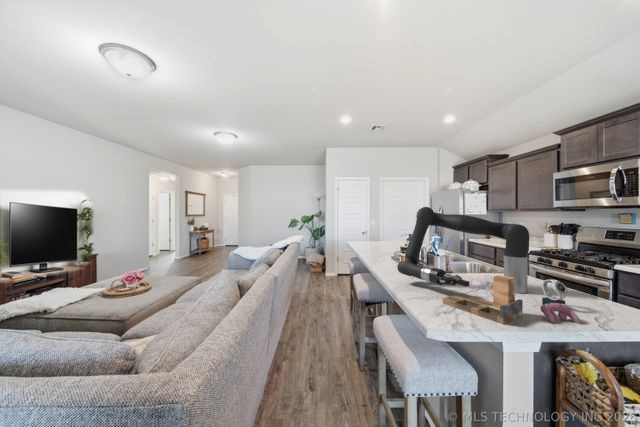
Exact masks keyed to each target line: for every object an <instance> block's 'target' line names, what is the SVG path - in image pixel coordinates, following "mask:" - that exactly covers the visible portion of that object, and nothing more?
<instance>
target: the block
mask: <svg viewBox="0 0 640 427" xmlns="http://www.w3.org/2000/svg"><path fill="white" fill-rule="evenodd" d="M492 281H493V282H492V284H493V285H492V287H493V288H492V291H493V295H492V296H493V299H492V300H493V301H492V302H493V308H497V309H500V306H502V305H505V304H507V303H510V302H513V301H516V298H515V297H516V295H515V294H516V293H515V278H512V277H507V276H504V275H501V274H500V275H495V276H492Z"/></svg>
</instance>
